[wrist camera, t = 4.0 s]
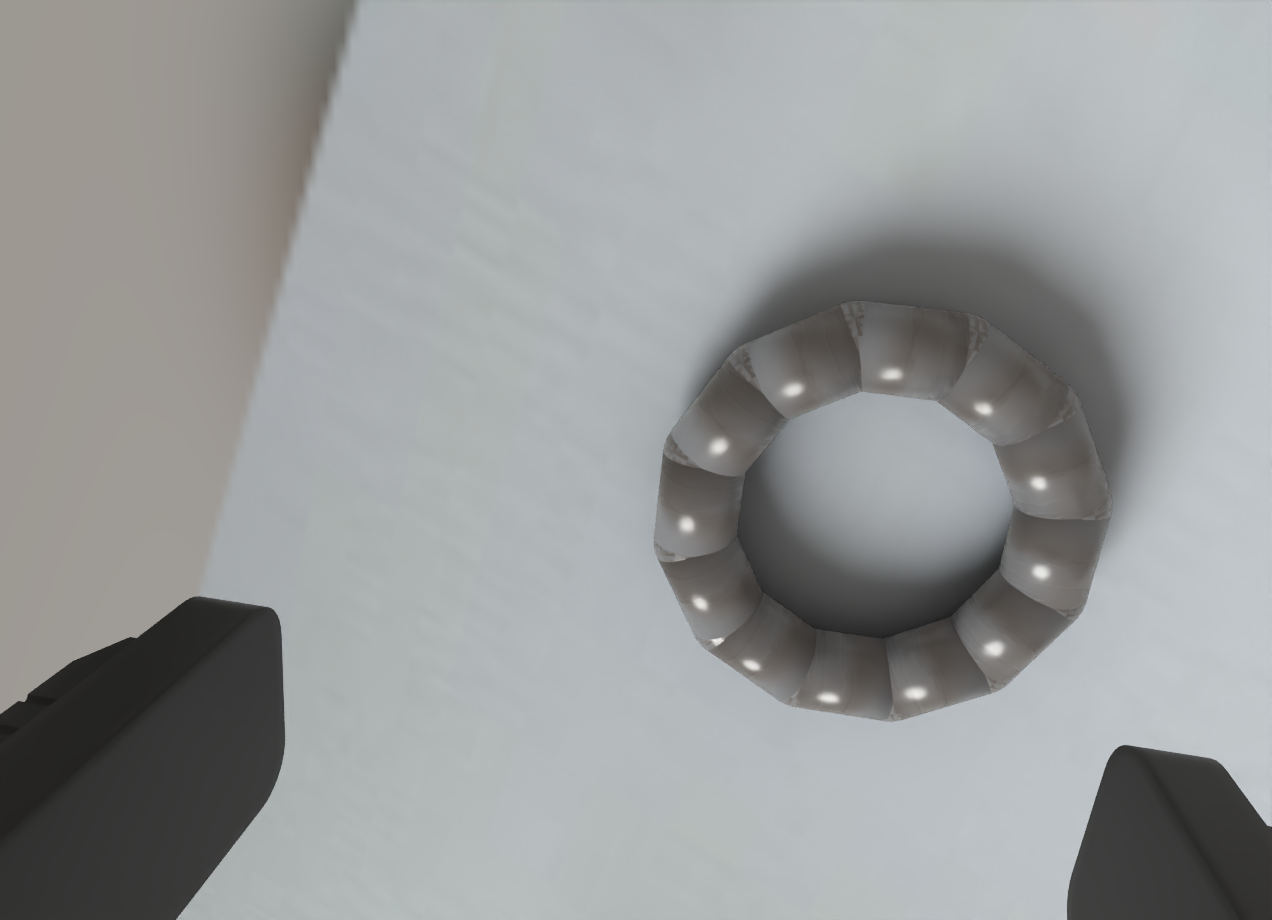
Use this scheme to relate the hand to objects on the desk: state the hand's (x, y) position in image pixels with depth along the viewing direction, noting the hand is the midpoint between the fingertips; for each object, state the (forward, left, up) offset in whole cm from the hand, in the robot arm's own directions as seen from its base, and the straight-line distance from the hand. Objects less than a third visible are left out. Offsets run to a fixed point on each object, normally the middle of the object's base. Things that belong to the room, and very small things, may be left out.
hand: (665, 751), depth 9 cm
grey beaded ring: (+3, 0, -7) cm, 8 cm away
